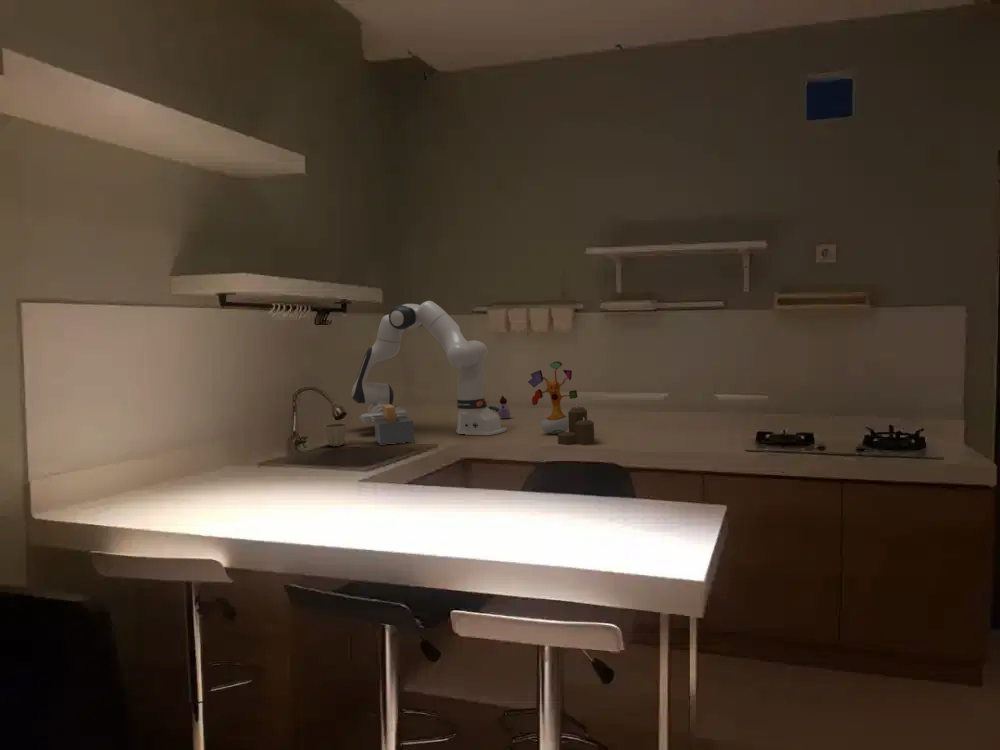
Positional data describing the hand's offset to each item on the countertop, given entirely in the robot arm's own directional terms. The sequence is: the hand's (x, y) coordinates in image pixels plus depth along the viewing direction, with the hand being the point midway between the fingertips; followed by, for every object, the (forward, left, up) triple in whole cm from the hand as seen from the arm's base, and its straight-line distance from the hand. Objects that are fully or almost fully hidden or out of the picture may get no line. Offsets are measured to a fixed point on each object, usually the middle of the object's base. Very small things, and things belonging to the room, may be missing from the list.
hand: (387, 419), depth 363 cm
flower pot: (+7, +24, -8) cm, 26 cm away
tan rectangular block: (-5, +4, -7) cm, 10 cm away
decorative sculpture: (-67, -28, -8) cm, 73 cm away
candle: (-84, -17, -8) cm, 86 cm away
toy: (-20, -51, -8) cm, 56 cm away
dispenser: (-12, +9, -7) cm, 17 cm away
